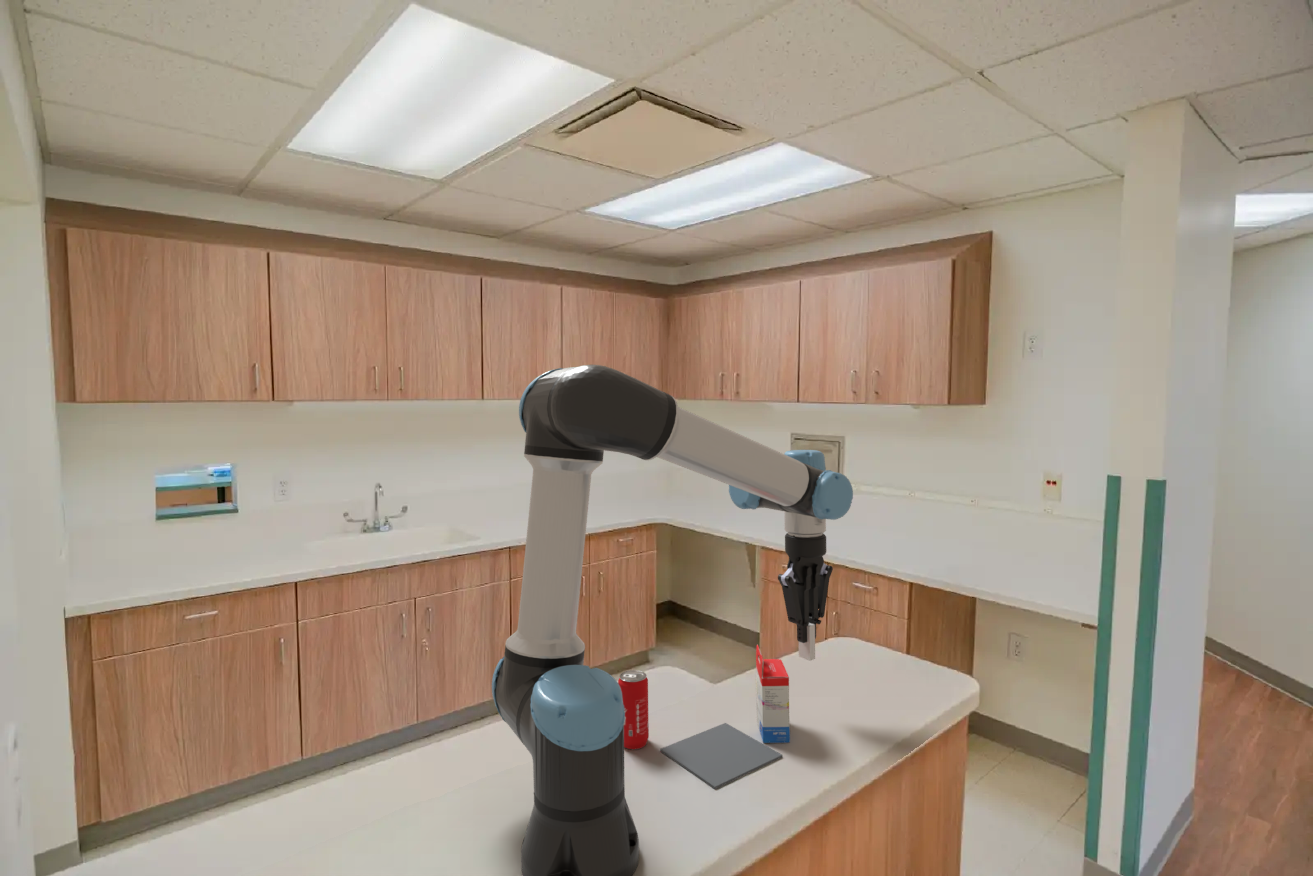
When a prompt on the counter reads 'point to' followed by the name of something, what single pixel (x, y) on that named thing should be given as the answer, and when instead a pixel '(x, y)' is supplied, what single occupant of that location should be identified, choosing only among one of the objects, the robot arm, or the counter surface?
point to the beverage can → (635, 708)
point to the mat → (720, 755)
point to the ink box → (772, 699)
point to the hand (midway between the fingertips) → (806, 657)
